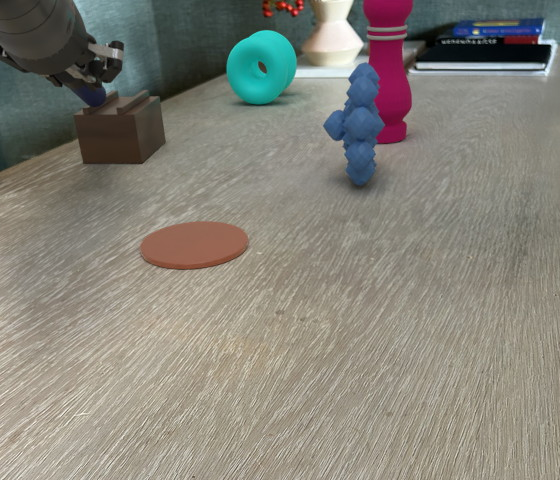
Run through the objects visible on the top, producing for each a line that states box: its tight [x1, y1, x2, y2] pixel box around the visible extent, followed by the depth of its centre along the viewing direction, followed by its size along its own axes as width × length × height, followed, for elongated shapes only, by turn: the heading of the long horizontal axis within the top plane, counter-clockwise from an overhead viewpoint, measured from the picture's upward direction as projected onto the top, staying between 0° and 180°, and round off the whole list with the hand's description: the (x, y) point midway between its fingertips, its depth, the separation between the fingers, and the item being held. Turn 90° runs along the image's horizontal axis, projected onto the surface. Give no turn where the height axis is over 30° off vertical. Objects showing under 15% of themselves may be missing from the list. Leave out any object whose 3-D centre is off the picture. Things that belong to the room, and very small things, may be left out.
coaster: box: [139, 220, 249, 270], centre depth 62 cm, size 10×10×1 cm
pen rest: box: [72, 89, 167, 165], centre depth 88 cm, size 10×8×7 cm
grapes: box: [322, 61, 385, 186], centre depth 73 cm, size 12×7×12 cm, turn 171°
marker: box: [54, 71, 107, 107], centre depth 76 cm, size 13×3×3 cm, turn 5°
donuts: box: [226, 29, 298, 106], centre depth 110 cm, size 10×10×10 cm
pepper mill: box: [362, 0, 414, 144], centre depth 85 cm, size 7×7×20 cm
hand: (77, 79), depth 74 cm, fingers closed on marker, 3 cm apart
